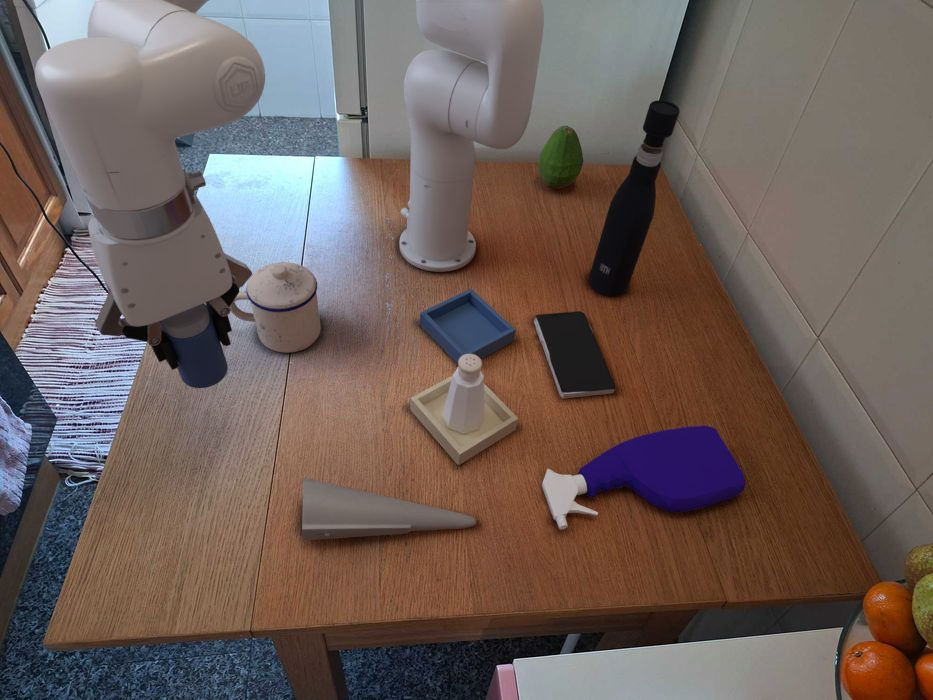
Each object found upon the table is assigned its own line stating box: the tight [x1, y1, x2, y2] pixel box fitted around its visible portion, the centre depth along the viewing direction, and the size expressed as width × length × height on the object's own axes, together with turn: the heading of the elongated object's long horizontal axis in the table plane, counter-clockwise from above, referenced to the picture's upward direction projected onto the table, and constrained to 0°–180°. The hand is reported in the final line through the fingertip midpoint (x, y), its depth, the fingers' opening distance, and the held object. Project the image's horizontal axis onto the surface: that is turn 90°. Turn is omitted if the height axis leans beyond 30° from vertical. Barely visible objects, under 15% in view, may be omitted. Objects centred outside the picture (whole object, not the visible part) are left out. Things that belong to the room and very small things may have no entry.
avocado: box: [538, 125, 584, 189], centre depth 118 cm, size 8×8×12 cm
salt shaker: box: [442, 354, 485, 434], centre depth 79 cm, size 5×5×11 cm
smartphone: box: [533, 310, 616, 399], centre depth 93 cm, size 8×1×15 cm
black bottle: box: [587, 99, 681, 297], centre depth 93 cm, size 6×6×30 cm
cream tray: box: [409, 374, 519, 466], centre depth 83 cm, size 10×9×2 cm
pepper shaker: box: [161, 303, 229, 389], centre depth 66 cm, size 5×5×9 cm
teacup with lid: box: [229, 261, 322, 354], centre depth 87 cm, size 12×9×12 cm
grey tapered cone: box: [301, 477, 477, 541], centre depth 73 cm, size 6×6×19 cm
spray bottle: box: [541, 425, 747, 530], centre depth 78 cm, size 3×11×24 cm
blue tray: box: [419, 288, 517, 364], centre depth 93 cm, size 10×9×2 cm
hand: (196, 347), depth 67 cm, fingers closed on pepper shaker, 4 cm apart
